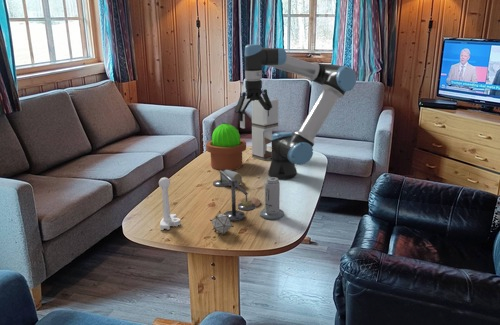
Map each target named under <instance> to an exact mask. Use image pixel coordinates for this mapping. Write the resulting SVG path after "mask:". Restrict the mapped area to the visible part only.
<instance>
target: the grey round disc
mask: <svg viewBox="0 0 500 325" xmlns="http://www.w3.org/2000/svg"><path fill="white" fill-rule="evenodd" d="M260 217H261V218H263V219H264V220H269V221H270V220H271V221H275V220H276V221H277V220H281V219H282V218H283V217H285V212H284V210H283V209H280V208H279V212H278V214H276V215H269V214H267V213H266V211H265V208H263V209H262V210H261V211H260Z"/></svg>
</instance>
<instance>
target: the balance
mask: <svg viewBox="0 0 500 325" xmlns="http://www.w3.org/2000/svg"><path fill="white" fill-rule="evenodd" d="M219 174H220V175H219V176H220V179H216V180H215V181H213V182H212V186H214V187H215V188H226V187H230V188H231V190H230V191H231V210H228V211H225V212H224V213H223V214H224V215H227V216H228V215H229V216H228V217H229V218H230V217H231V218H230V221H231V223H235V222H236V223H237V222H241V221H243V220H245V218H246V214H245V212H251V211H254V210H255V209H256V207H255V204H253V203H252V200H250V199H248V192H247V191H246V190H245V189H244V188H242V187H241V186H240V185H238V184H237V180H236V179H231V178H230V177H229V176H228V175H227V174H225V173H224V170H219ZM222 175H223V176H224V177H226V178H227V179H228V180H229V181H227V180H222ZM229 185H231V186H229ZM235 186H236V187H235ZM236 188H237V189H238V190H239V191H240V192H241V193H242V194H244V196H245V198H246V199H242V198H241V199H242V200H241V203H240V204H239V205H238V204H237V202H236V199H237V198H236ZM237 209H238V210H237Z"/></svg>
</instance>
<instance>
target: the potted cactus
mask: <svg viewBox="0 0 500 325" xmlns="http://www.w3.org/2000/svg"><path fill="white" fill-rule="evenodd" d="M246 150H247V141H246V140H243V139H241V134H240V133H239V130H238V129H237V128H236V126H234V125H232V124H230V123H228V122H227V123H225V122H223V123H221V124H219V125H217V126H216V128H214V130H213V132H212V135H211V140H209V141H207V142H206V143H205V151H206V152H208V153H210V166H211V168H213V169H215V170H217V171H218V170H219V171H221V170H222V171H225V170H230V171H234V170H237V169H240V168H241V167H242V166H243V152H245V151H246Z"/></svg>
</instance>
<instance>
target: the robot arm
mask: <svg viewBox="0 0 500 325" xmlns="http://www.w3.org/2000/svg"><path fill="white" fill-rule="evenodd" d="M265 66H266V67H267V66H268V67H271V68H275V69H278V70H280V71H285V72H287V73H291V74H294V75H297V76H301V77H305V78H307V79H308V80H309V81H311V82H312V83H313V82H314V83H316V84H319V85H321V86H322V88H323V89H322V91H321V93H320V95H319V96H318V98H317V99H316V101H315V103H314V105H313V106H312V107H311V110H310V111H309V113H308V114H307V116H306V117H305V119H304V121H303V123H302V124H301V126H300V128H299V130H297V131H294V132H293V131H279V132H274V133H272V139H271V141H272V142H271V152H272V159H271V161H270V165H269V168H268V173H267V174H268V177H276V178H278V180H290V179H294V178H296V177H298V176H297V174H298V172H297V168H296V165H298V166H302V165H305V164H307V163H308V162H309V161H310V160H312V158H313V155H314V148H313V147H314V145H315V141H314V140H315V138H316V137H317V134H318V133H319V131H320V130H321V128H322V126H323V125H324V123H325V121H326V119H327V118H328V116H329V115H330V112H331V111H332V109H333V108H334V106H335V105H336V103H337V101H338V100H339V99H341V98H343V97H344V96H345V94H346V93H347V92H350V91H352V90H353V89H354V88H355V86H356V84H357V76H356V72H355V70H354V68H352V67H350V66H346V65H339V64H328V63H320V62H316V61H315V62H310V61H307V60H303V59H301V58H297V57H294V56H290V55H287V52H286V50H285V48H282V47H276V48H275V47H273V48H272V47H262V45H261V44H246V45H245V47H244V73H245V74H244V79H245V81H244V82H245V84H244V85H245V86H244V87H245V91H240V93H239V98H238V100H237V101H238V102H237V103H236V106H235V109H234V113H236V114H237V115H238V121H239V128H241V129H246V115H245V112H246V110H247V108H248V106H249V105H250V103H252V101H254V100H258V101H259V102H260V104H261V105H262V106H263V108H264V109H265V110H263V123H264V124H268V117H269V110H270V109H271V108H272V104H271V102H270V100H271V99H270V97H269V95H268V90H267V89H266V88H263V81H262V79H263V67H265ZM263 98H264V100H265V101H264V100H263Z"/></svg>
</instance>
